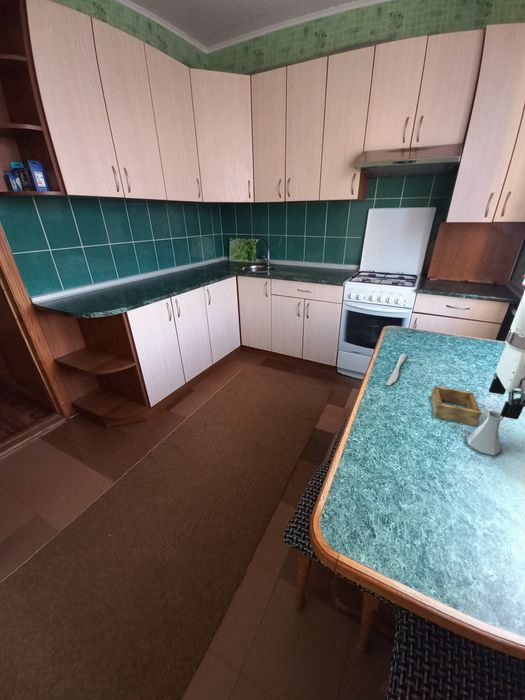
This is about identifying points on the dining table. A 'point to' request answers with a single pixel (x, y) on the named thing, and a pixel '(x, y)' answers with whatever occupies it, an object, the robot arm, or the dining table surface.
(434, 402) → the square wooden frame
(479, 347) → the dining table surface
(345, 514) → the dining table surface
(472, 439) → the flask
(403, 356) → the butter knife
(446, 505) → the dining table surface
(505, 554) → the dining table surface
